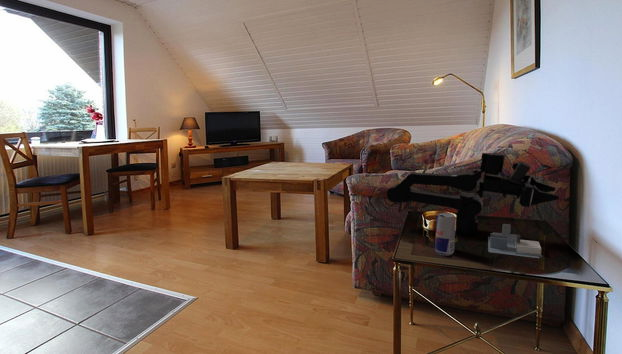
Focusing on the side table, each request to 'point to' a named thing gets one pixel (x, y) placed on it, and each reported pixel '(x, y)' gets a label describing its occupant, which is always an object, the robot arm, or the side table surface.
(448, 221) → the energy drink
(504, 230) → the grey stepped block
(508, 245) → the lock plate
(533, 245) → the cover
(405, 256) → the side table surface
